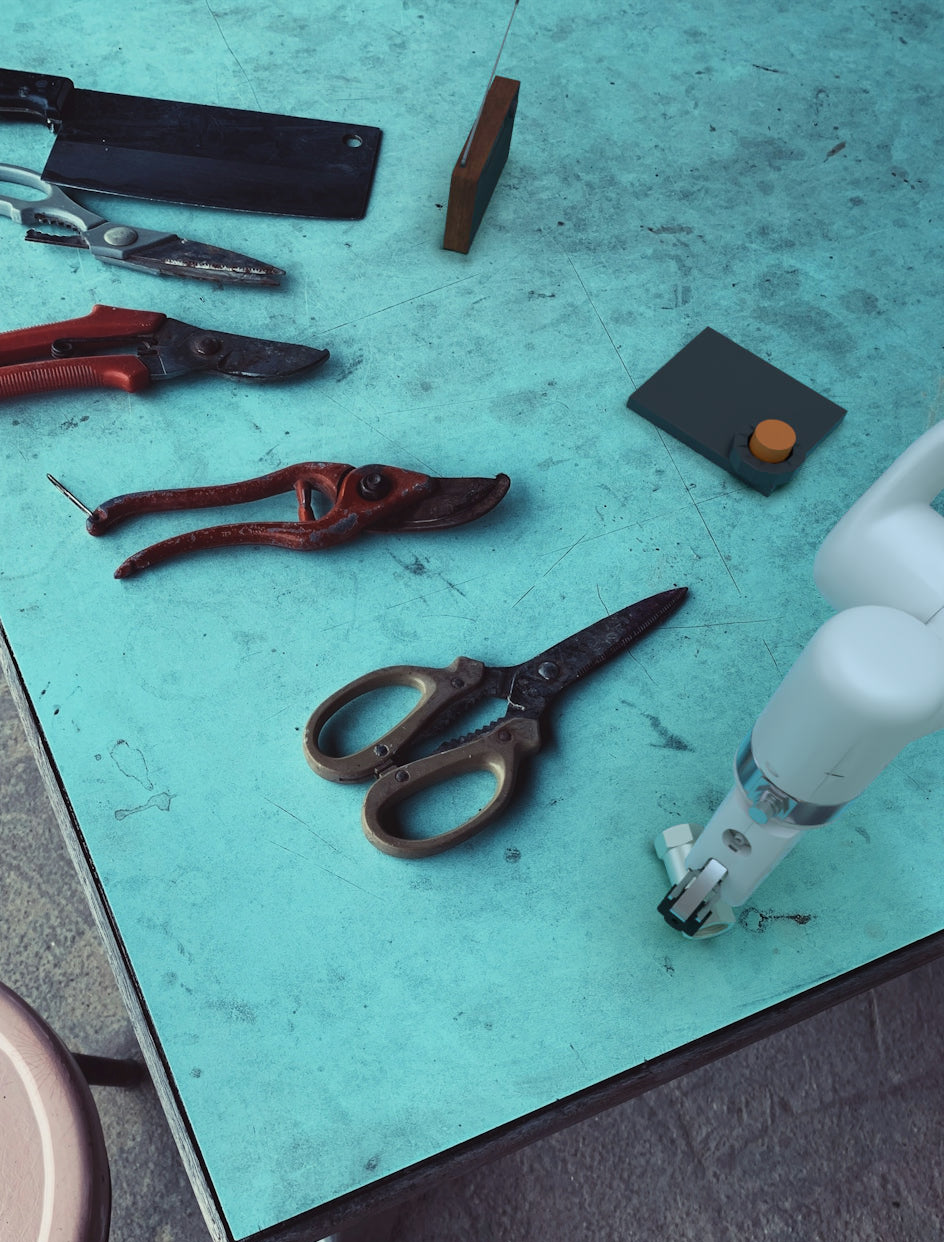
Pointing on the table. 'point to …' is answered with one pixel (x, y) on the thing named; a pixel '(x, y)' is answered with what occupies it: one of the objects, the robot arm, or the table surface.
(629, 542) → the table surface
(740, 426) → the scale
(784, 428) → the button
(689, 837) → the pipe fitting
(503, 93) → the radio
